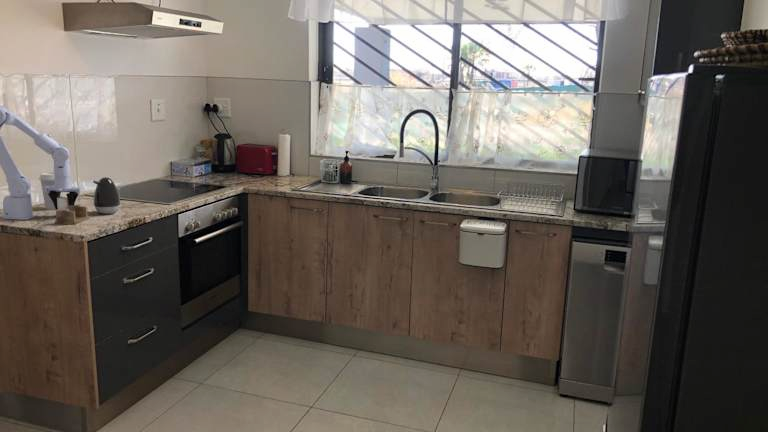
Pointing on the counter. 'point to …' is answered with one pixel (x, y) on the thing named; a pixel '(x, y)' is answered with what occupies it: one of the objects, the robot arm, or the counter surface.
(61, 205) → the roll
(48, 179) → the coffee cup
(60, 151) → the robot arm
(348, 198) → the counter surface
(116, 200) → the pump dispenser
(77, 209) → the holder
